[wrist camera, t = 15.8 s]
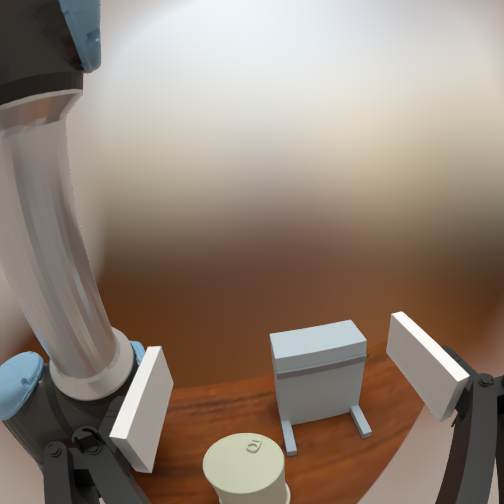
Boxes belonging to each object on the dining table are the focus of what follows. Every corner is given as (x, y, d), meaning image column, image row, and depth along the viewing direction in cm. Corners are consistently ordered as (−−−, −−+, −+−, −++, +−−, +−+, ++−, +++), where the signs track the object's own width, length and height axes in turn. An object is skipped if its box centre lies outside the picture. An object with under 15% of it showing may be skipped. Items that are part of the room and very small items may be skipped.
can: (297, 481, 29) (296, 440, 26) (271, 529, 21) (262, 503, 18) (240, 465, 33) (226, 422, 30) (210, 507, 25) (185, 472, 22)
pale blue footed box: (370, 436, 35) (386, 366, 31) (287, 456, 34) (282, 390, 30) (345, 387, 48) (350, 319, 44) (276, 400, 48) (269, 334, 44)
